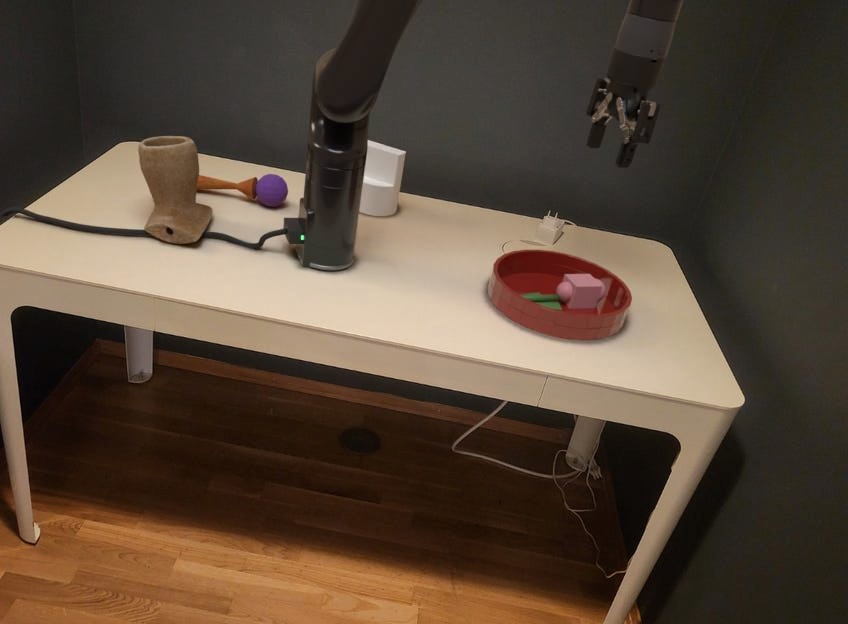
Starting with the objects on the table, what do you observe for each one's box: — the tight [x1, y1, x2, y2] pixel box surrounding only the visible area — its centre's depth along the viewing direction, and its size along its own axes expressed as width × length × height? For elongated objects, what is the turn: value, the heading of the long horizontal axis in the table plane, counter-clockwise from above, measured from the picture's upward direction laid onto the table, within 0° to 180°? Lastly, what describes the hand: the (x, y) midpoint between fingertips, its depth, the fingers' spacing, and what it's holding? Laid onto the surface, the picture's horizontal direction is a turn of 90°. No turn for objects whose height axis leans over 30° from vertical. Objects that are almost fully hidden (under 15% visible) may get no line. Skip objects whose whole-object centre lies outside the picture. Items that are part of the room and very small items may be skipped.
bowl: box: [487, 249, 633, 341], centre depth 121 cm, size 22×22×4 cm
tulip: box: [520, 274, 606, 311], centre depth 121 cm, size 17×6×4 cm, turn 106°
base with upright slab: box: [359, 139, 407, 217], centre depth 144 cm, size 9×9×12 cm
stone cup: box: [137, 135, 214, 245], centre depth 124 cm, size 15×12×15 cm
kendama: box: [196, 173, 289, 207], centre depth 140 cm, size 6×6×20 cm
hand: (606, 156), depth 118 cm, fingers open, 8 cm apart
